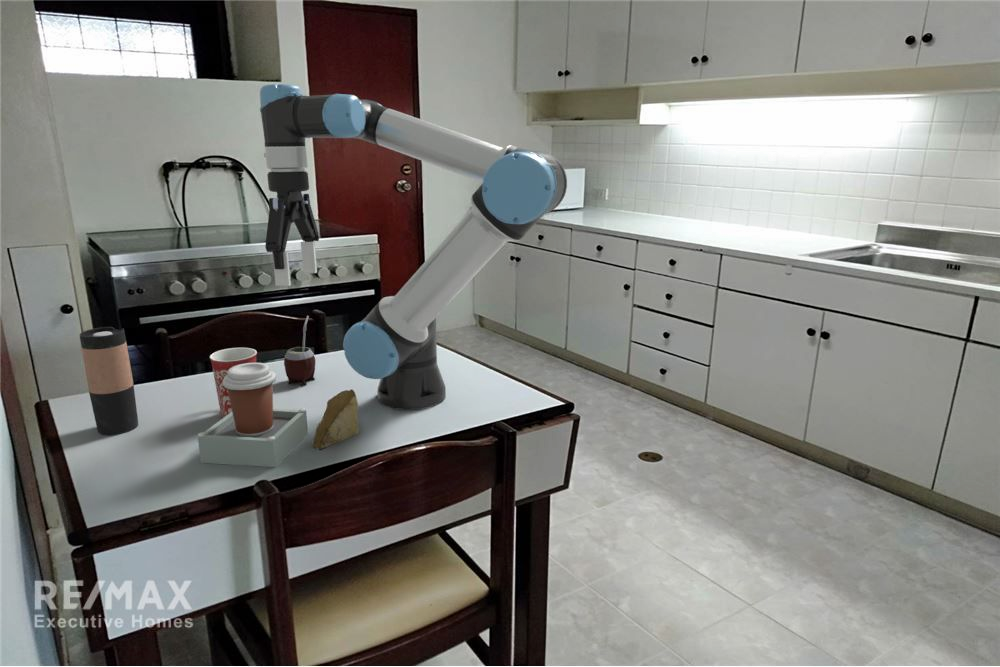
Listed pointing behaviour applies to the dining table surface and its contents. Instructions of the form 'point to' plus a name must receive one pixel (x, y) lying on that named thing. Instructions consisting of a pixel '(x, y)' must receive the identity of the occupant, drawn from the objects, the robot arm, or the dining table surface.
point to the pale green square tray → (253, 441)
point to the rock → (337, 420)
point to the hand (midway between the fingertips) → (297, 279)
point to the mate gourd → (300, 363)
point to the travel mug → (109, 380)
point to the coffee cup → (251, 398)
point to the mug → (220, 368)
